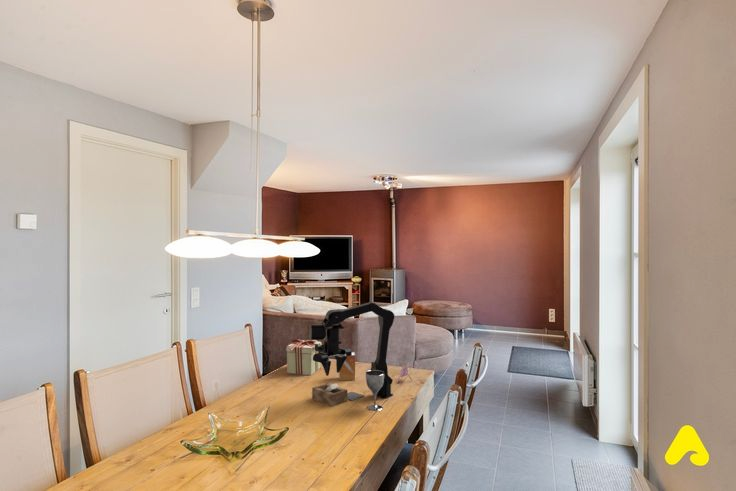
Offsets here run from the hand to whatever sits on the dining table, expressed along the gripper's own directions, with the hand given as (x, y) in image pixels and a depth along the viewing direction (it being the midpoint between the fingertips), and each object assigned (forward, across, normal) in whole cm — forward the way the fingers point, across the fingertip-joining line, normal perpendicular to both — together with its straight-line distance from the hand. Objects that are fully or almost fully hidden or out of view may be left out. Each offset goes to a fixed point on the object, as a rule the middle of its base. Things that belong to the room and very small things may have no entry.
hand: (332, 374), depth 188 cm
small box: (+12, -27, -18) cm, 35 cm away
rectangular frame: (+12, 0, -2) cm, 12 cm away
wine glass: (+12, -7, +19) cm, 23 cm away
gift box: (+12, -20, -44) cm, 50 cm away
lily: (+12, -44, +6) cm, 47 cm away
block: (+9, 0, -2) cm, 9 cm away
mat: (+12, -10, +2) cm, 16 cm away
